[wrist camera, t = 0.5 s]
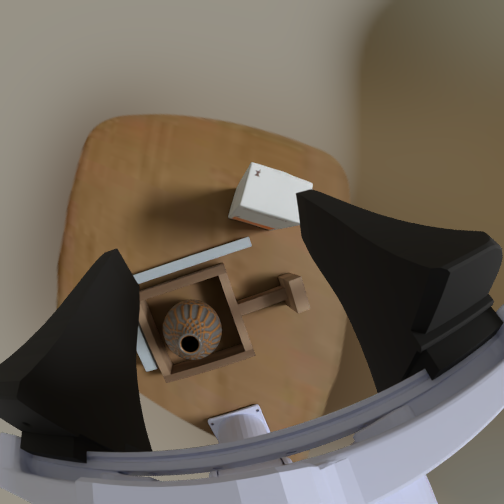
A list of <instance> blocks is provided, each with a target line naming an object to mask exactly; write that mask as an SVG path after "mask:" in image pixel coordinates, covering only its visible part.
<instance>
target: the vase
mask: <svg viewBox="0 0 504 504" xmlns="http://www.w3.org/2000/svg"><path fill="white" fill-rule="evenodd" d="M163 335H164V339H165V342H166V344H167V345H168V347H169V348H170V349H171V351H172V352H173V353H175V354H176V355H178V356H179V357H182V358H184V359H189V360H197V359H202V358H204V357H206V356H208V355H210V354H211V353H212V352H213V351H214V350H215V349H216V347H217V346H218V344H219V342H220V339H221V335H222V326H221V322H220V319H219V317H218V315H217V313H216V312H215V310H214V309H213V308H212V307H211V306H209V305H208V304H206V303H204V302H202V301H198V300H185V301H182V302H179V303H177V304H176V305H175V306H173V307H172V308H171V309H170V310H169V312H168V313H167V315H166V317H165V319H164V323H163Z"/></svg>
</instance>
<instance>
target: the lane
mask: <svg viewBox="0 0 504 504" xmlns="http://www.w3.org/2000/svg"><path fill="white" fill-rule="evenodd" d="M250 246H252V245H251V242H250V239H249V237H246V238H243V239H240V240H237V241H234V242H231V243H228V244H225V245H222V246H218V247H215V248H212V249H209V250H206V251H203V252H200V253H197V254H194V255H191V256H188V257H185V258H182V259H179V260H177V261H174V262H171V263H168V264H165V265H162V266H159V267H156V268H153V269H150V270H147V271H144V272H141V273H138V274H135V275H133V276H134V278H135V280H136V281H137V283H138V284H140V283H143V282H146V281H149V280H152V279H155V278H157V277H160V276H163V275H166V274H169V273H172V272H175V271H178V270H181V269H184V268H187V267H190V266H193V265H196V264H199V263H202V262H205V261H208V260H211V259H214V258H217V257H220V256H223V255H226V254H229V253H232V252H235V251H238V250H241V249H244V248H247V247H250ZM136 350H137V353H138V355H139V357H140V359H141V361H142V363H143V365H144V368H145V370H146V372H147V371H151V370H155V369H158V364H157V362H156V360H155V358H154V356H153V353H152V351H151V349H150V347H149V344H148V342H147V340H146V337H145V335H144V332H143V330H142V328H141V325H140V323H139V324H138V336H137V349H136Z"/></svg>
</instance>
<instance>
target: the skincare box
mask: <svg viewBox="0 0 504 504" xmlns="http://www.w3.org/2000/svg"><path fill="white" fill-rule="evenodd" d="M312 187H313V184H312V183H311V182H308V181H306V180H303V179H300V178H297V177H295V176H292V175H290V174H288V173H285V172H283V171H279V170H275V169H272V168H269V167H266V166H263V165H260V164H257V163H253V162H251V164H250V166H249V168H248V169H247V171H246V172H245V174H244V176H243V177H242V179H241V181H240V183H239V184H238V186H237V188H236V191H235V194H234V198H233V201H232V204H231V208H230V211H229V215H228V218H231V219H235V220H238V221H242V222H245V223H249V224H252V225H255V226H258V227H262V228H265V229H268V230H276V229H281V228H287V227H292V226H297V225H300V220H299V213H298V205H297V198H296V193H298V192H302V191H306V190H310V189H312Z"/></svg>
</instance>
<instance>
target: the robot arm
mask: <svg viewBox="0 0 504 504" xmlns="http://www.w3.org/2000/svg"><path fill="white" fill-rule="evenodd" d="M296 198H297V205H298V213H299V220H300V228H301V236H302V239H303V241H304V243H305V245H306V247H307V249H308V251H309V253H310V255H311V257H312V259H313V260H314V262H315V263H316V265H317V266H318V268H319V269H320V271H321V272H322V274H323V275H324V277H325V278H326V280H327V281H328V283H329V284H330V286H331V287H332V289H333V291H334V292H335V294H336V295H337V297H338V298H339V300H340V302H341V304H342V305H343V307H344V310H345V312H346V314H347V316H348V318H349V320H350V322H351V324H352V326H353V329H354V331H355V333H356V336H357V338H358V340H359V342H360V345H361V347H362V350H363V352H364V355H365V358H366V360H367V363H368V366H369V368H370V371H371V374H372V377H373V380H374V383H375V386H376V389H377V392H378V394H375V395H373V396H371V397H369V398H367V399H364V400H362V401H360V402H358V403H355V404H353V405H350V406H348V407H346V408H343V409H341V410H338V411H336V412H333V413H330V414H327V415H325V416H322V417H319V418H316V419H313V420H310V421H307V422H304V423H301V424H298V425H295V426H292V427H288V428H285V429H281V430H278V431H274V432H270V430H269V428H268V426H267V423H266V421H265V419H264V416H263V414H262V411H261V409H260V407H259V405H257V404H255V405H252V406H249V407H246V408H243V409H240V410H237V411H234V412H230V413H227V414H224V415H220V416H217V417H213V418H210V419H208V424H209V425H210V427H211V429H212V431H213V433H214V434H215V436H216V438H217V440H218V441H219V444H214V445H208V446H201V447H195V448H186V449H177V450H166V451H152V449H151V445H150V442H149V439H148V435H147V431H146V428H145V423H144V419H143V414H142V409H141V404H140V397H139V390H138V381H137V369H136V349H137V336H138V324H139V312H140V293H139V284H138V283H137V281H136V280H135V278H134V276H133V275H132V273H131V271H130V270H129V268H128V266H127V265H126V263H125V261H124V259H123V258H122V256H121V254H120V253H119V251H118V249H114V250H111V251H108V252H106V253H104V254H103V255H102V256H101V257H100V258H99V259H98V260H97V261H96V262H95V263H94V264H93V265H92V267H91V268H90V269H89V270H88V272H87V273H86V274H85V275H84V277H83V278H82V279H81V280H80V282H79V283H78V284H77V285H76V287H75V288H74V289H73V290H72V292H71V293H70V294H69V295H68V297H67V298H66V299H65V300H64V302H63V303H62V304H61V305H60V307H59V308H58V309H57V310H56V311H55V313H54V314H53V315H52V316H51V317H50V318H49V319H48V320H47V322H46V323H45V324H44V325H43V326H42V327H41V328H40V329H39V330H38V331H37V332H36V333H35V334H34V335H33V336H32V337H31V338H30V339H29V340H28V341H27V342H26V343H25V344H24V345H23V346H21V347H20V348H19V349H18V350H17V351H16V352H15V353H14V354H12V355H11V356H10V357H9V358H8V359H6V360H5V361H4V362H2V363H1V364H0V418H2V419H3V420H5V421H6V422H8V423H9V424H11V425H12V426H14V427H16V428H17V429H19V430H21V431H22V437H19V436H16V435H13V434H8V433H3V432H2V433H1V434H0V487H1V488H3V489H5V490H7V491H8V492H10V493H13V494H14V495H16V496H19V497H20V498H22V499H24V500H26V501H28V502H30V503H32V504H438V503H437V501H436V498H435V495H434V493H433V491H432V488H431V486H430V483H429V481H428V478H427V476H426V474H427V473H428V472H430V471H431V470H433V469H434V468H435V467H437V466H438V465H440V464H441V463H442V462H444V461H445V460H446V459H448V458H449V457H450V456H452V455H453V454H454V453H455V452H457V451H458V450H459V449H460V448H462V447H463V446H464V445H465V444H466V443H468V442H469V441H470V440H471V439H472V438H473V437H475V436H476V435H477V434H478V433H479V432H480V431H481V430H482V429H483V428H484V427H485V426H486V425H487V424H488V423H490V422H491V420H493V419H494V418H495V417H496V416H497V414H499V412H500V411H501V410H502V409H503V408H504V304H503V305H502V306H501V307H500V308H499V309H498V310H497V312H495V311H494V310H493V309H492V307H491V306H492V305H493V302H494V301H493V299H492V298H491V297H490V295H489V294H488V293H489V291H490V288H491V287H492V284H493V282H494V280H495V278H496V276H497V274H498V271H499V268H500V266H501V262H502V248H501V247H500V245H499V244H497V243H496V242H495V241H494V240H493V239H492V238H491V237H490V236H489V235H487V234H486V233H485V232H481V231H464V230H452V229H444V228H436V227H430V226H424V225H419V224H415V223H409V222H405V221H401V220H397V219H394V218H390V217H387V216H383V215H380V214H376V213H374V212H371V211H368V210H365V209H362V208H359V207H356V206H354V205H351V204H349V203H346V202H344V201H341V200H339V199H336V198H334V197H331V196H329V195H326V194H324V193H321V192H318V191H315V190H312V189H310V190H306V191H302V192H298V193H296ZM257 409H259V410H258V411H256V410H257ZM211 423H214V424H211ZM356 432H357V433H356ZM353 433H355V435H354V436H353V438H354V440H355V441H354V442H353V443H352V444H351V445H350V446H347V447H344V448H341V449H338V450H335V451H332V452H329V453H326V454H323V455H319V456H316V457H312V458H308V459H305V460H301V461H297V462H292V461H291V459H289V458H287V457H286V456H290V455H293V454H297V453H300V452H303V451H307V450H310V449H312V448H316V447H319V446H321V445H324V444H327V443H330V442H333V441H335V440H338V439H341V438H343V437H346V436H348V435H351V434H353ZM203 472H210V473H209V478H202V479H191V480H178V481H159V480H156V479H153V478H151V477H142V476H161V475H162V476H163V475H182V474H194V473H203Z"/></svg>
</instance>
